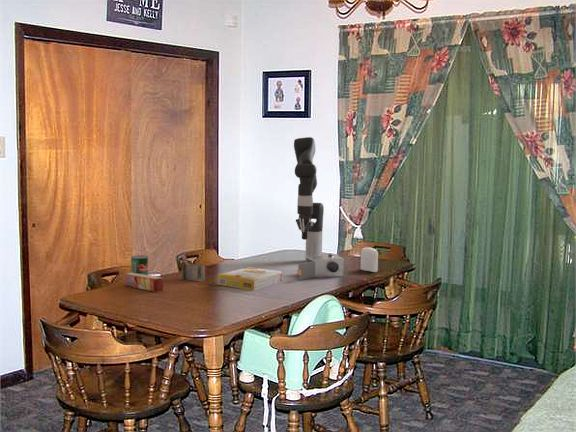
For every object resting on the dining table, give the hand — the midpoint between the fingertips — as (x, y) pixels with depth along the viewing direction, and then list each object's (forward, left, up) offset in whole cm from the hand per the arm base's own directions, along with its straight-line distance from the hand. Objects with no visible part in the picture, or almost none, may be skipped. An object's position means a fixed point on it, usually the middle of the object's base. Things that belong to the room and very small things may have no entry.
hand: (304, 239), depth 353 cm
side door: (+4, 0, -19) cm, 19 cm away
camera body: (-6, +13, -19) cm, 24 cm away
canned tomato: (-13, -79, -20) cm, 82 cm away
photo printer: (-11, +40, -20) cm, 46 cm away
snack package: (+10, -80, -20) cm, 83 cm away
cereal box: (+7, -29, -20) cm, 36 cm away
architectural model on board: (-6, -54, -20) cm, 58 cm away
